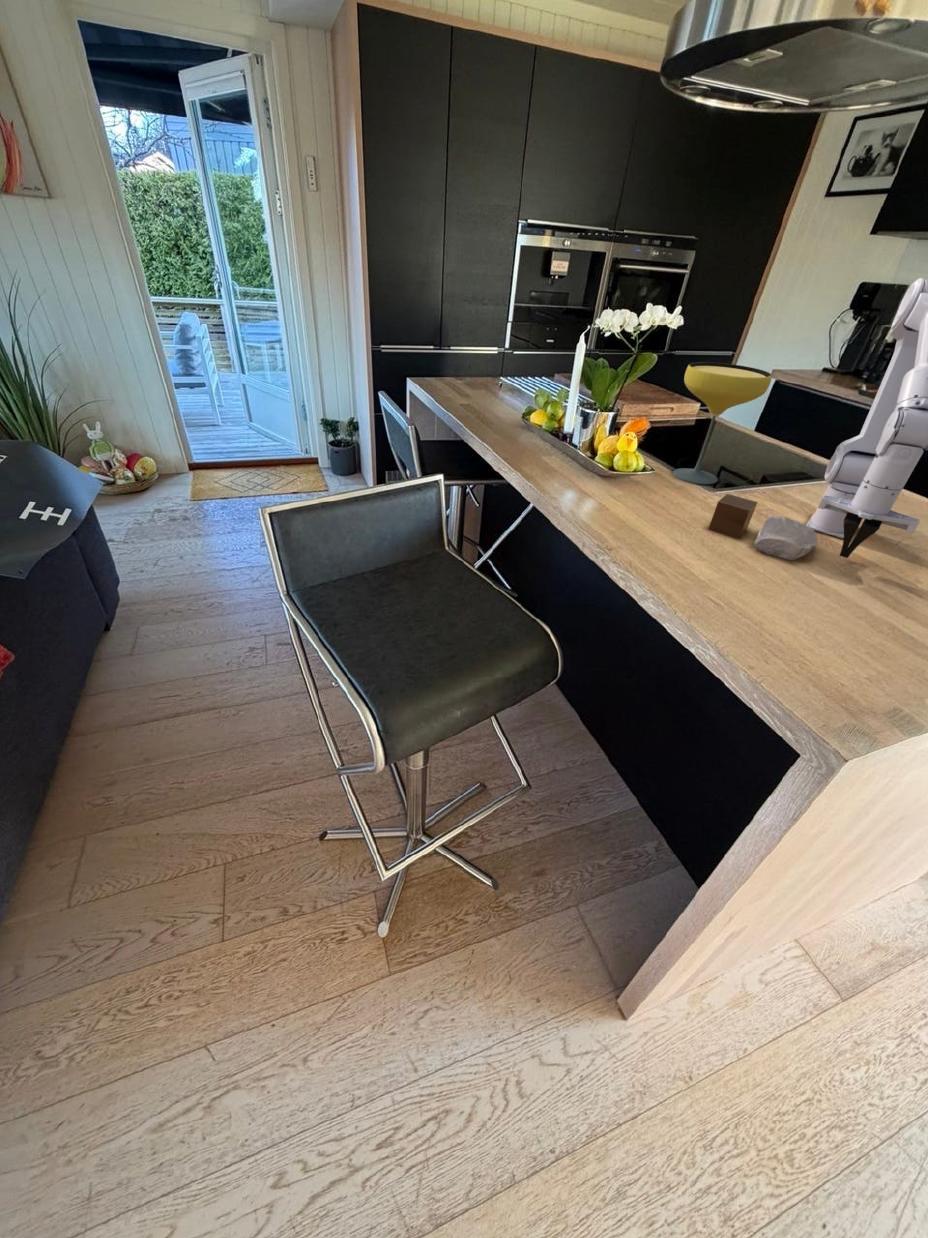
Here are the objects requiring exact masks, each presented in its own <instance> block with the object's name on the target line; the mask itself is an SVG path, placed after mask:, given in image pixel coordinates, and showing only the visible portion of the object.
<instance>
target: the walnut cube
mask: <svg viewBox="0 0 928 1238" xmlns="http://www.w3.org/2000/svg"><path fill="white" fill-rule="evenodd" d="M715 506H716V507H715V509H714V512H713V514H712V518H711V521H710V522H709V526H708V530H709V531H713V532H716V533H719V534H722V535H724V536H725V535H726V536H729V537H732V538H734V539H740V538H741V537H742V535H743V534H744V533H746V531H747V530H748V527H749V525H750V523H751V520H752V517H753V515H754V513H755V510H756V507H757V506H758V501H756V500H755V501H754V500H751V499H747V498H744V497H741V496H737V495H733V494H730V493H726V494H725V495H724V496H723V497H722V498H721V499H720V500H718V501H717V504H716V505H715Z"/></svg>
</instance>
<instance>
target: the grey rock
mask: <svg viewBox="0 0 928 1238" xmlns="http://www.w3.org/2000/svg"><path fill="white" fill-rule="evenodd" d="M806 525H807V524H804V523H801V521H800V522H799V521H798V520H796V519H792V518H790V517H786V516H779V515H770V516H768V517H767V519H766V520H765V521H764V524H763V525H762V528H761V529H760V530H759V532H758V534H757V536H756V538H755V540H754V543H753V547H754V548H755V551H756V552H758V553H763V554H766V555H768V556H774V557H778V558H781V559H784V560H788V561H794V560H797V559H800V558H801V557H804V556H805V555H808V553H810V552H811V551H812V550H814V549H815V548H816V547H818V535H817V533H816V532H817V531H816V530H813V529H811V528H810V527H809V526H806Z"/></svg>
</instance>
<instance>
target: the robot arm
mask: <svg viewBox="0 0 928 1238" xmlns="http://www.w3.org/2000/svg"><path fill="white" fill-rule="evenodd" d="M890 329H891V330H890V332H889V335H890V336H891V337H892V338H894V339H895V340H896V342H895V346H894V351H893V354H892V357H891V360H890V361H889V364H888V366H887V369H886V371H885V373H884V376H883V378H882V379H881V383H880V384H879V385H880V386H879V387H878V390H877V392H876V395H875V397H874V399H873V402H872V404H871V407H870V409H869V412H868V414H867V416H866V418H865V421H864V423H863V425H862V427H861V429H860V432H859V434H858V435H856V436H853V437H851V438H849V439H846V440H844V441H842V442H841V443H840V444H839V445H837V446H836V448H835V451H834V453H833V455H832V456H831V458H830V460H829V461H828V464H827V466H826V468H825V472H824V480H825V482H826V483H827V484H828V485H827V487H826V489H825V491H824V493H823V495H822V497H821V498H820V501H819V503H818V505H817V508H816V510H815V512H814V513H813V514H812V516H811V517H810V518H809V520H808V521H807V523H806V524H805V525H806V526H809V527H810V528H811V529H813V530H814V531H815V532H819V533H823V534H826V535H830V536H833V537H837V538H840V539H843V541H842V547H841V550H840V553H839V554H838V555H839V557H842V558H846V559H848V558H849V557H850V556H851V555H852V553H853V552H854V551H855V550H856V549H857V547H859V546H860V545H861V544H862V543H864V542H865V540H867V539H868V538H870V537H871V536H873V535H874V534H875V533H876V532H878V531H879V529H881V526H882V525H886V526H889V527H893V528H896V529H900V530H904V531H905V532H907V533H910V534H914V533H915V531H916V529H917V528H918V526H919V524H920V519H919V518H916V517H912V516H909V515H907V514H903V513H901V512H897V511H895V510H892V508H893V506H894V505H895V503H896V501H897V500H898V498H899V496H900V494H901V492H902V491H903V489H904V487H905V485H906V484H907V482H908V480H909V478H910V476H911V475H912V473H913V472H914V469H915V467H916V466H917V464H918V463H919V461H920V459H921V457H922V455H923V454H924V451H928V279H924V278H923V277H922V278H921V277H919V278H918V279H916V280H915V281H914V282H912V283H911V284H910V286H909V287H908V289H907V290H906V292H905V293H904V296H903V298H902V300H901V302H900V304H899V306H898V309H897V312H896V314H895V316H894V319H893V321H892V324H891V328H890ZM853 451H854V452H853ZM855 452H860V453H861V452H862V453H868V454H873V455H875V456H873V455H866V454H862V453H861V454H860V453H855ZM860 525H861V526H860ZM859 527H860V528H859ZM857 530H858V531H857ZM856 532H857V533H856ZM855 533H856V534H855Z"/></svg>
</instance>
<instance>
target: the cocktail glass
mask: <svg viewBox="0 0 928 1238" xmlns="http://www.w3.org/2000/svg"><path fill="white" fill-rule="evenodd" d="M772 376H773V375H772V374H771V372H769V371H766V370H763V369H759V368H756V367H752V366H751V367H750V366H745V365H739V364H732V363H723V362H711V361H710V362H707V361H701V362H699V361H698V362H691V363H689V364H688V365H687V367H686V369H685V373H684V378H683V380H684V381H683V383H684V385H685V387H686V388H687V389H688V391H689V392H690V393H691V394H693V395H694V396H695V397H696V398H697V399H699V400H700V401H701V402H703V403H704V404H705V405H706V407H707V409H708V412H709V414H710V416H712V418H711V421H710V424H709V428H708V431H707V434H706V437H705V440H704V443H703V446H702V449H701V452H700V455H699V458H698V460H697V462H696V465H695V466H694V468H687V467H686V468H685V467H683V468H682V467H681V468H677V469H674V470H673V472H672V474H673V476H674V477H675V478H677V479H678V480H681V481H684V482H686V483H691V484H696V485H704V486H705V485H714V484H716V483H717V482H718V481H719V478H718V477H717V476H716V475H714V474H713V473H710V472H708V471H705V470H702V463H703V459H704V456H705V452H706V449H707V446H708V442H709V439H710V436H711V432H712V429H713V426H714V424H715V420H716V417H719V416H721V415H722V414H724V412H725V411H727V410H728V409H731V408H733V407H736V406H739V405H743V404H747V403H749V402H752V401H755V400H756V399H758V398H761V397H762V396H763V395H764V394H765V393H766V392H767V391H768V389H769V387H770V385H771V381H772Z"/></svg>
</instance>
